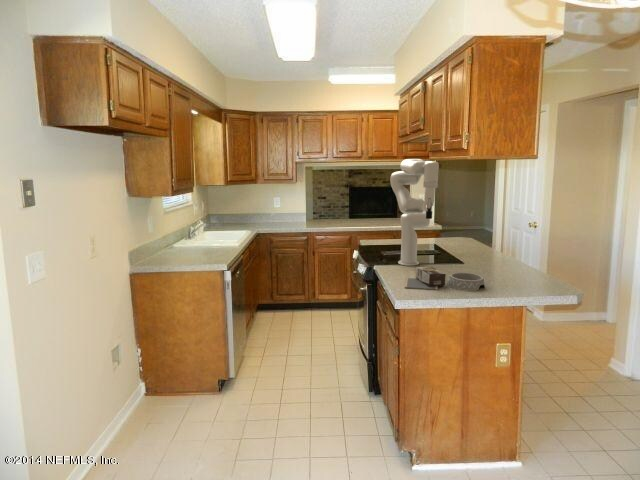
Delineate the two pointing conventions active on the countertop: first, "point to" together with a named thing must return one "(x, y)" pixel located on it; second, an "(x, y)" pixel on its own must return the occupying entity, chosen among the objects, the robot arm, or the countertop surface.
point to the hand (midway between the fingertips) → (428, 218)
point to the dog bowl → (465, 281)
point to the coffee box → (430, 276)
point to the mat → (418, 284)
